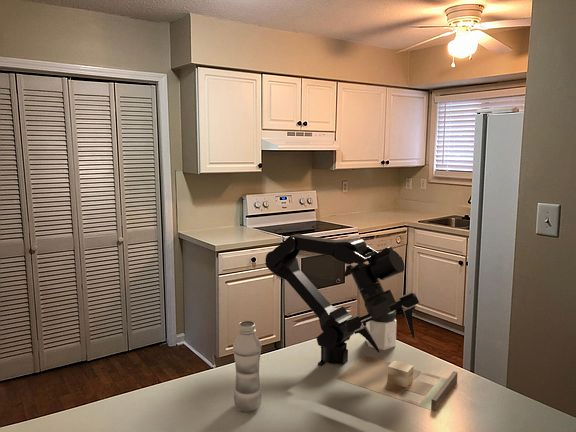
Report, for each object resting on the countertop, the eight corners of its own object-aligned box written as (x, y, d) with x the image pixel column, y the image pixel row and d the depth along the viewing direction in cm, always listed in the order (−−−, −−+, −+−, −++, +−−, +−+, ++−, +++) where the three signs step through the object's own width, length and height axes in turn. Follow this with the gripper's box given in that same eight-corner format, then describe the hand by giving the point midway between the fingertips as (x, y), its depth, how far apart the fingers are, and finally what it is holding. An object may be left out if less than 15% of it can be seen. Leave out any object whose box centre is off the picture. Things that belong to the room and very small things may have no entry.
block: (387, 381, 116) (387, 366, 116) (393, 375, 120) (394, 360, 119) (406, 387, 113) (407, 372, 113) (412, 380, 117) (413, 365, 116)
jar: (379, 357, 133) (380, 316, 131) (359, 346, 140) (360, 308, 138) (401, 349, 138) (403, 310, 136) (381, 340, 145) (382, 302, 143)
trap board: (336, 384, 118) (336, 369, 118) (365, 360, 131) (365, 346, 130) (435, 417, 104) (436, 400, 103) (456, 387, 117) (457, 372, 116)
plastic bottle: (240, 418, 103) (239, 331, 100) (229, 403, 109) (227, 321, 106) (267, 411, 106) (266, 326, 103) (255, 397, 112) (254, 316, 109)
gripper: (332, 302, 112) (360, 365, 109) (405, 271, 110) (436, 334, 107) (336, 300, 123) (362, 357, 120) (403, 271, 121) (430, 328, 118)
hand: (396, 345), depth 116 cm, fingers open, 9 cm apart
